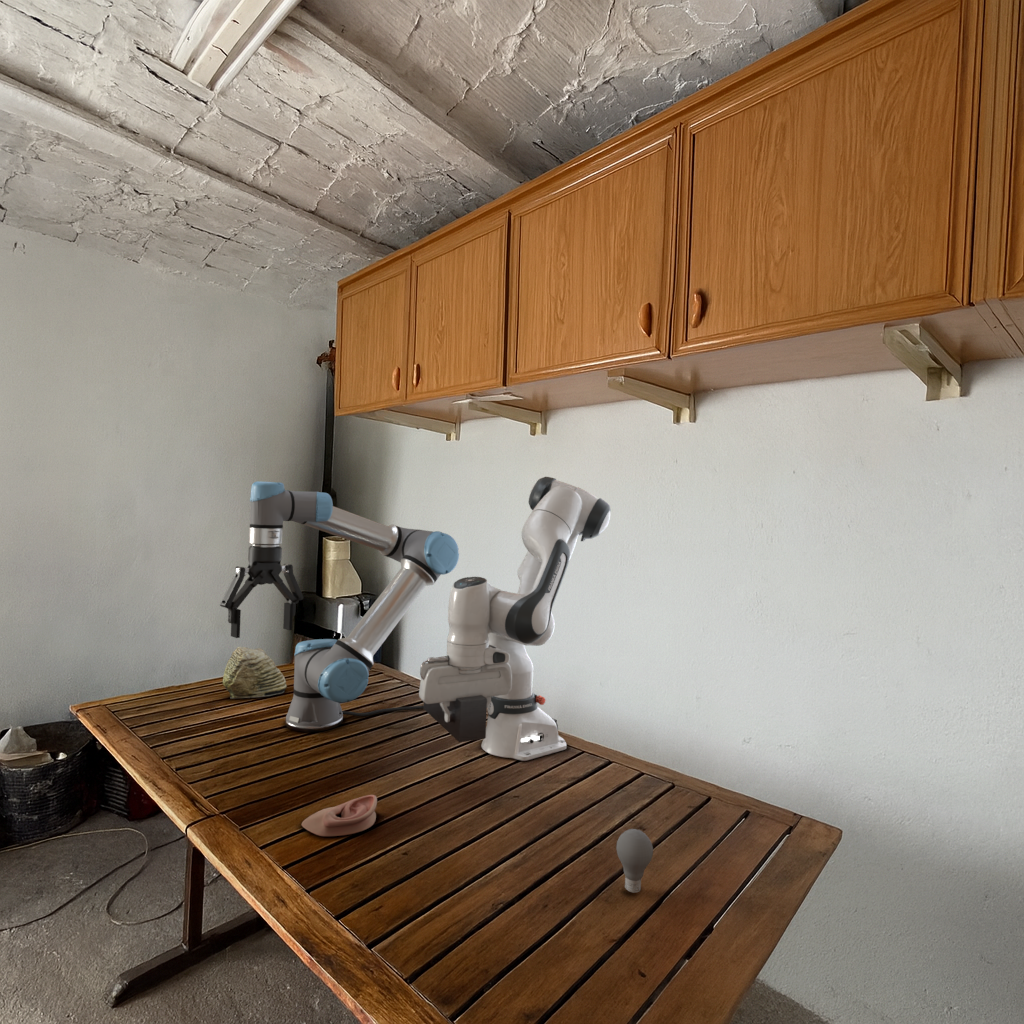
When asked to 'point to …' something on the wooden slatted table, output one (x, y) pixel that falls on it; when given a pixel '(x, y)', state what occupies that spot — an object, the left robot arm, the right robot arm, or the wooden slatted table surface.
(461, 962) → the wooden slatted table surface
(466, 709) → the box
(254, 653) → the fossil
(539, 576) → the right robot arm
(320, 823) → the anatomical model
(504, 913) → the wooden slatted table surface
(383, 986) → the wooden slatted table surface
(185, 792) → the wooden slatted table surface
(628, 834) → the light bulb
